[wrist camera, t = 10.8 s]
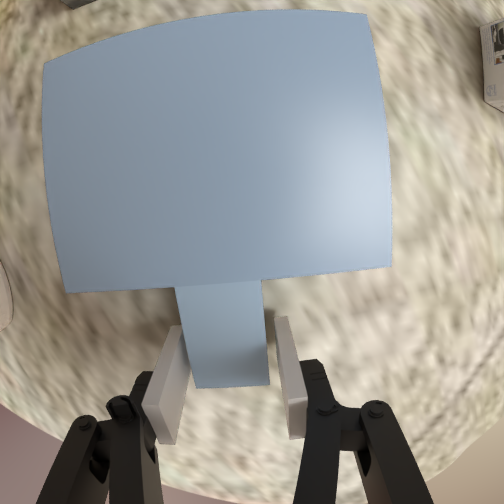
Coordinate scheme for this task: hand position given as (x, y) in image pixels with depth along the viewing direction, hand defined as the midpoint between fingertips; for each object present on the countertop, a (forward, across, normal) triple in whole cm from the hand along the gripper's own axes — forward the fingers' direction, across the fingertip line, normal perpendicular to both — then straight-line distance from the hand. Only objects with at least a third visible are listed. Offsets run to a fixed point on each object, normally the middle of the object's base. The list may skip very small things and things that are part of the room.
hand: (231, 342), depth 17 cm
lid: (+1, 0, +8) cm, 8 cm away
